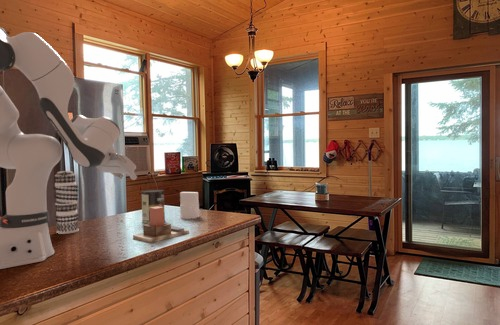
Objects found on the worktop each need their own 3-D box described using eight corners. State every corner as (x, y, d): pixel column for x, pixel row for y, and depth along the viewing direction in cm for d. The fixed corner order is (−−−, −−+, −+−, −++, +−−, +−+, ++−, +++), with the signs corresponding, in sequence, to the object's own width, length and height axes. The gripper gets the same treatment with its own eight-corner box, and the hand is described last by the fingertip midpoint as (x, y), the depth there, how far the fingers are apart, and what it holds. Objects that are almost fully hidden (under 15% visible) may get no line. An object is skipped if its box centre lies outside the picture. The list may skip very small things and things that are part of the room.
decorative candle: (63, 235, 148) (60, 172, 147) (50, 232, 153) (47, 171, 152) (84, 230, 156) (81, 170, 155) (71, 228, 161) (69, 170, 160)
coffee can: (168, 218, 177) (167, 189, 176) (159, 223, 167) (158, 192, 166) (148, 218, 179) (147, 189, 178) (138, 222, 169) (136, 192, 168)
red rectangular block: (156, 235, 139) (155, 208, 139) (150, 233, 142) (149, 207, 142) (164, 233, 142) (163, 207, 141) (158, 231, 145) (157, 206, 144)
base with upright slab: (176, 218, 178) (176, 193, 178) (187, 214, 187) (186, 191, 186) (192, 219, 175) (192, 193, 174) (202, 215, 183) (201, 191, 183)
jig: (150, 242, 133) (150, 229, 133) (133, 238, 140) (132, 226, 140) (189, 233, 147) (188, 221, 147) (171, 229, 154) (170, 218, 154)
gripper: (124, 146, 130) (149, 172, 138) (94, 147, 143) (118, 171, 151) (112, 160, 126) (138, 186, 134) (83, 159, 140) (109, 183, 148)
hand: (128, 178), depth 143 cm, fingers open, 8 cm apart
